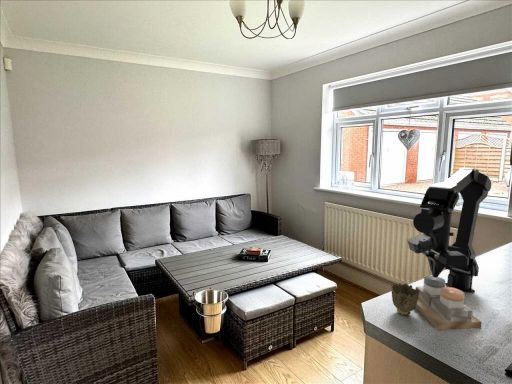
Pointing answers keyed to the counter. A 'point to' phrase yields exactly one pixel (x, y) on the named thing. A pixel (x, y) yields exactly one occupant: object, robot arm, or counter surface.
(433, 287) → the plunger grey
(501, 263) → the counter surface
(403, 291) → the cup
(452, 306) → the plunger terracotta
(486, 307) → the counter surface
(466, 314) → the button board
